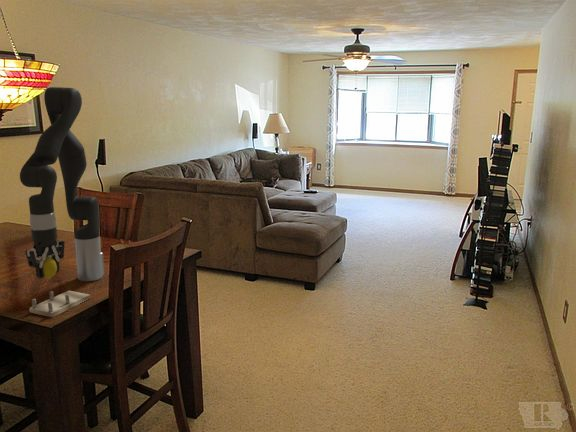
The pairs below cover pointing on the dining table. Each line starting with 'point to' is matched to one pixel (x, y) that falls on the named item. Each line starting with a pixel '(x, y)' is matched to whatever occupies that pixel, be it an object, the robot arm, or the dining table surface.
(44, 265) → the lemon
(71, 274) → the dining table surface
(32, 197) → the robot arm
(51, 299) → the peg board
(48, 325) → the dining table surface
